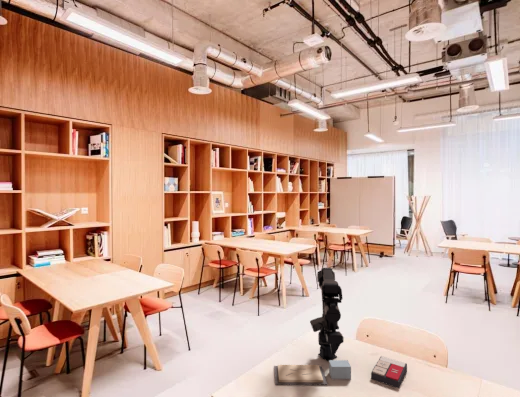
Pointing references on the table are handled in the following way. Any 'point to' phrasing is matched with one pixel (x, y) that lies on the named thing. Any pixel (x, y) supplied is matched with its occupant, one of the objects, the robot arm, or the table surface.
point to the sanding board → (299, 375)
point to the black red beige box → (389, 371)
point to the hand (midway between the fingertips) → (330, 349)
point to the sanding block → (339, 370)
